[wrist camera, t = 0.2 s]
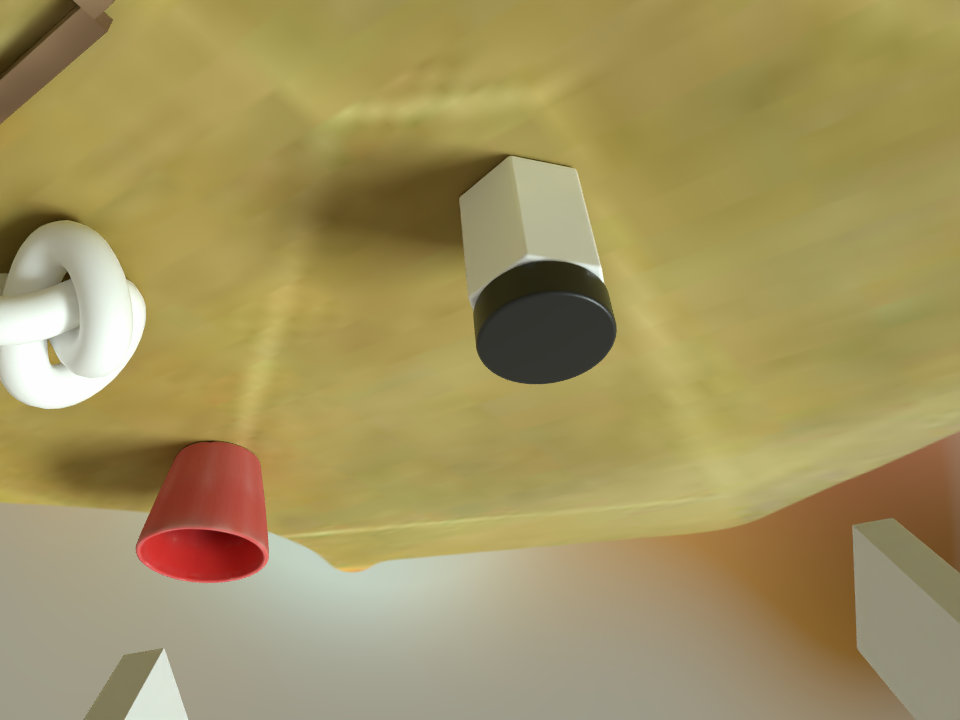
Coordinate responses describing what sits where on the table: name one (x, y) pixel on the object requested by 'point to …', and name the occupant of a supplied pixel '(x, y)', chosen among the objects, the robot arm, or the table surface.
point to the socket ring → (53, 53)
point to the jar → (534, 273)
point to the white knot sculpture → (66, 317)
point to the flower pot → (208, 517)
